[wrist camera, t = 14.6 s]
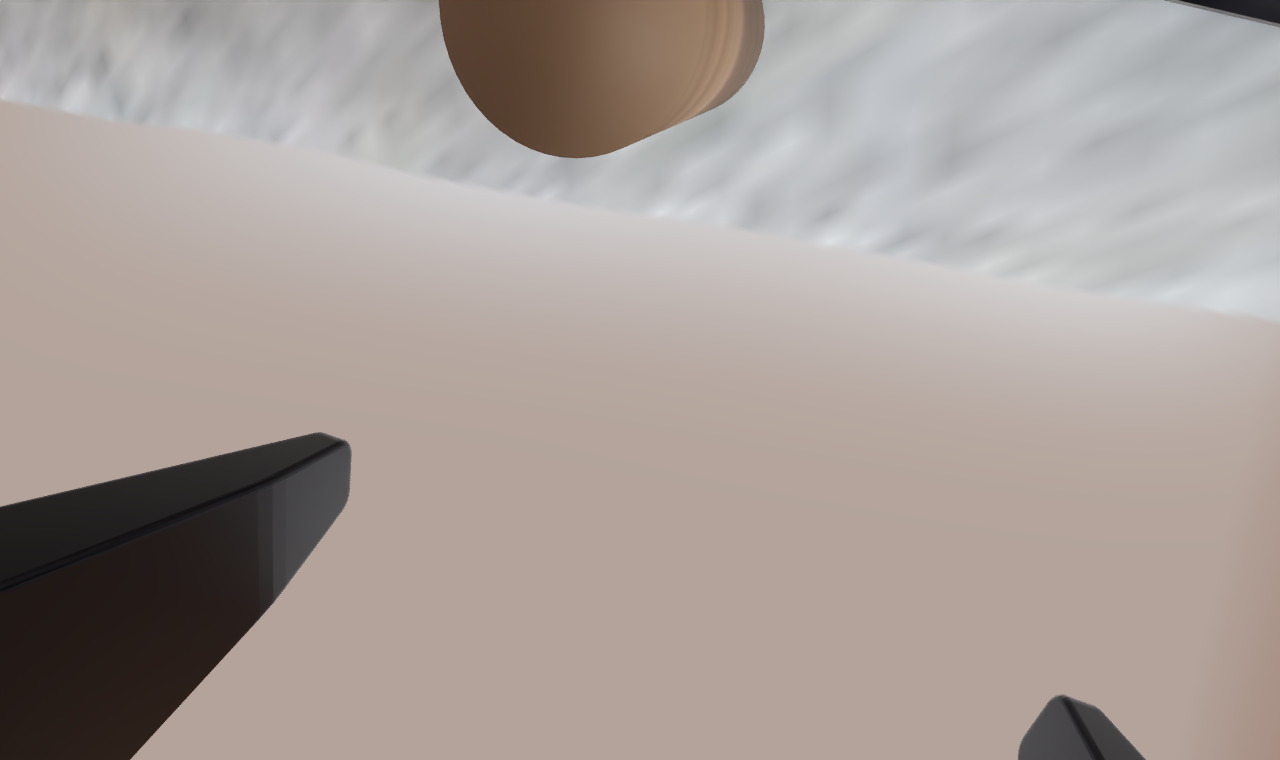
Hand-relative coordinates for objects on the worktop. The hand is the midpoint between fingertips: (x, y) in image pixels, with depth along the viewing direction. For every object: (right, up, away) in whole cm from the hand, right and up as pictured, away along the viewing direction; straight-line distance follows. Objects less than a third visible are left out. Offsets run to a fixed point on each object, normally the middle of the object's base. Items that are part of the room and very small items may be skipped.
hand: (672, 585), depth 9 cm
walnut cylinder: (+1, +11, +9) cm, 15 cm away
